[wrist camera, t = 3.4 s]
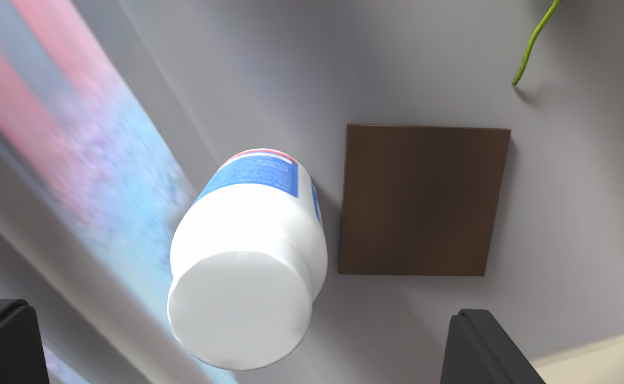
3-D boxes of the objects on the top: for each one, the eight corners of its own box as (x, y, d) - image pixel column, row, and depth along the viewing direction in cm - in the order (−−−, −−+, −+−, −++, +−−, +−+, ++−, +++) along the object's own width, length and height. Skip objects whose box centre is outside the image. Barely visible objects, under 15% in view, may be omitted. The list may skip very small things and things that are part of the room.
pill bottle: (188, 196, 20) (91, 306, 10) (265, 124, 19) (234, 173, 10) (264, 267, 21) (238, 421, 12) (339, 202, 20) (376, 314, 11)
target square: (337, 270, 21) (338, 274, 21) (347, 123, 19) (348, 124, 19) (481, 273, 22) (484, 276, 21) (507, 128, 19) (511, 129, 19)
